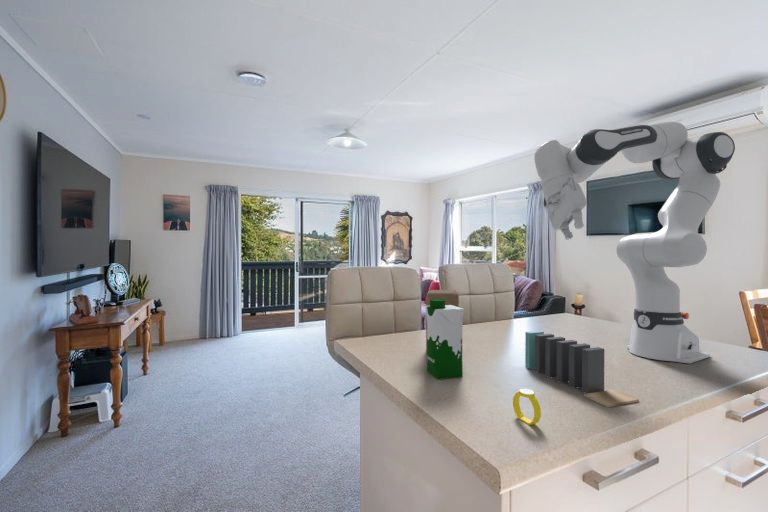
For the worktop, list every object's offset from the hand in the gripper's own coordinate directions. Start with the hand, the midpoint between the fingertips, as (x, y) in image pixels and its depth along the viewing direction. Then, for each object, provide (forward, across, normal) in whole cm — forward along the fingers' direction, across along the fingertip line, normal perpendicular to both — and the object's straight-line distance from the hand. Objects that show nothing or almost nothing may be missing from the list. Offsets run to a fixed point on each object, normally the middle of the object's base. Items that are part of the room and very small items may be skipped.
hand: (574, 233), depth 103 cm
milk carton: (+32, -4, +44) cm, 55 cm away
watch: (+42, -28, +30) cm, 59 cm away
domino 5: (+40, -7, +13) cm, 42 cm away
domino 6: (+41, -10, +11) cm, 43 cm away
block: (+27, +15, +44) cm, 54 cm away
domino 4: (+38, -3, +14) cm, 41 cm away
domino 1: (+35, +6, +19) cm, 40 cm away
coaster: (+42, -14, +9) cm, 45 cm away
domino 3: (+37, 0, +16) cm, 40 cm away
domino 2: (+36, +3, +18) cm, 40 cm away
